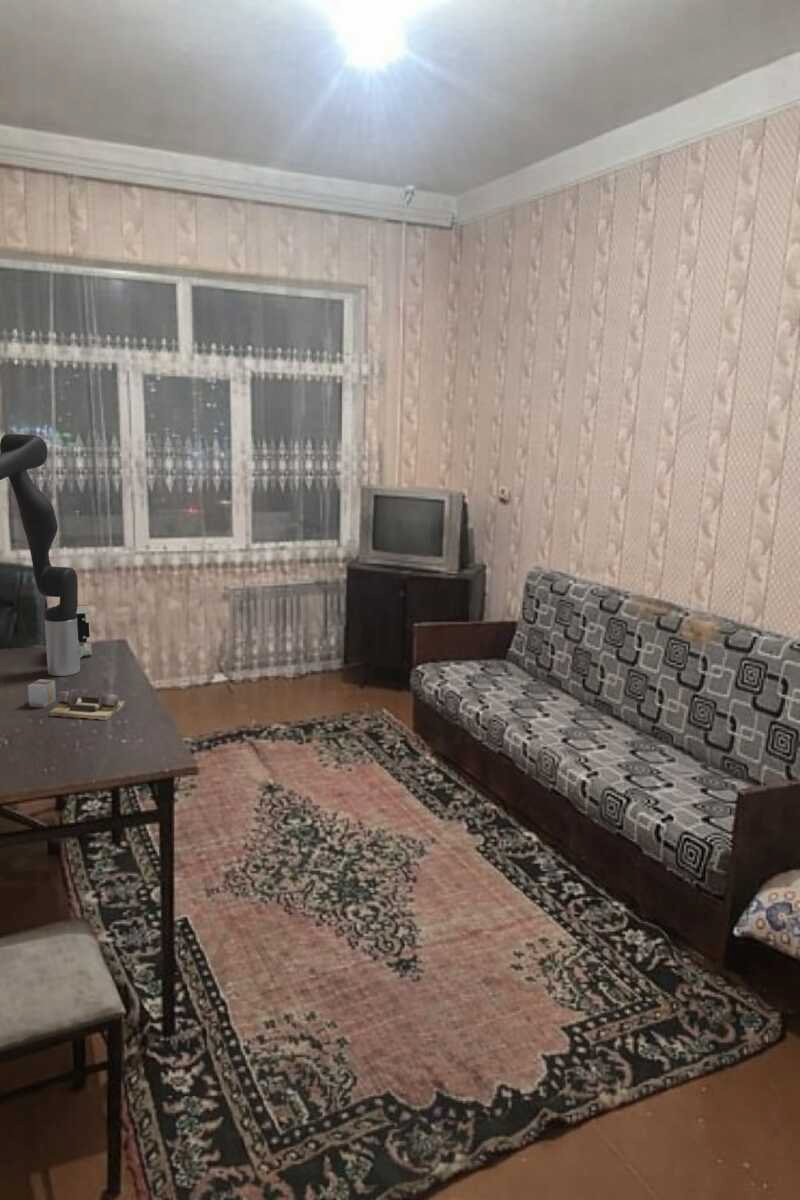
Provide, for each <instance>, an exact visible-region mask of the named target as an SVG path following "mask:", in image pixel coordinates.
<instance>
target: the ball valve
mask: <svg viewBox="0 0 800 1200" xmlns="http://www.w3.org/2000/svg"><path fill="white" fill-rule="evenodd" d="M91 613H92V612H91V608H88V607H87V604H78V608H77V629H78V640H79V652H80V659H81V658H83V657H84V656H85V657H88V656H91V655H92V653H93V652H92V650H93V649H92V643H87V642H88V638H90V637H91V636H90V635H91V629H92V626H91V624H92V623H91ZM85 657H84V658H85Z"/></svg>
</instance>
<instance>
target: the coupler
mask: <svg viewBox="0 0 800 1200" xmlns="http://www.w3.org/2000/svg"><path fill="white" fill-rule="evenodd" d="M27 695H28V707H29V706H30V707H31V708H42V707H45V708H47V707H48V706H50V705H51V703H52V702H53V703H54V701H55V700H56V701H57V694H56V680H55V679H41V678H39V679H38V680H36V681H33V682H32V683H30V684H29V685H27ZM56 701H55V702H56ZM53 703H52V704H53ZM49 704H50V705H49ZM47 705H48V706H47ZM46 706H47V707H46Z"/></svg>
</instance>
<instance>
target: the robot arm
mask: <svg viewBox="0 0 800 1200" xmlns="http://www.w3.org/2000/svg"><path fill="white" fill-rule="evenodd" d="M47 446H48V445H47V444H46V441H45V440H44V439H43V438H42V436H39V435H36V434H22V433H20V434H19V433H8V434H4V435H3V436H2V437H1V439H0V481H1V480H3V479H5V478H8V479H9V482H10V484H11V487H12V490H13V493H14V496H15V497H14V498H15V499H16V503H17V507H18V511H19V515H20V520H21V524H22V527H23V530H24V533H25V536H26V540H27V544H28V549H29V552H30V558H31V561H32V567H33V569H32V570H33V574H34V576H33V577H34V581H35V585H36V588H37V591H38V592H39V594H40V595H42V596H44V597H53V598H59V603H58V604H57V605H55V606H52V607H49V608H46V609H45V610H44V613H43V614H44V628H45V646H46V647H45V648H46V660H47V661H46V663H47V674H48V675H50V676H54V677H63V676H65V677H66V676H67V677H68V676H72V675H75V674H77V673H79V672H80V671H81V670H80V669H81V658H80V652H79V640H78V629H77V608H78V605H79V603H78V601H79V600H78V599H79V598H78V596H79V595H78V592H79V591H78V590H79V589H78V588H79V586H78V583H79V581H78V575H77V572H76V570H75V569H74V568H72V567H68V566H67V567H66V566H52V564H51V560H50V555H49V554H50V548H51V546H52V544H53V542H54V540H55V538H56V535H57V533H58V520H57V517H56V513H55V510H54V509H55V508H54V506H53V505H52V503H51V501H50V500H49V499H48V497H47V496H46V494H44V492H42V491H41V490H40V489H39V488H38V487H37V485H36V484H35V483H34V482H33V480H32V479H31V478H30V475H29V473H28V470H31V469H36V468H39V467H41V466H43V465H44V464H45V463H46V461H47V459H48V447H47Z"/></svg>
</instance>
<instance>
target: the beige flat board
mask: <svg viewBox="0 0 800 1200" xmlns="http://www.w3.org/2000/svg"><path fill="white" fill-rule="evenodd" d="M56 700H57V702H58V703H56V707H55V708H53V709H52V710H49V712H48V716H49V717H54V716H62V717H61V718H67V717H73V718H72V719H80V718H87V719H86V720H94V719H99V720H98V721H107V719H108V718H109V717H110V718H112V717H113V716H114V715H115V713H116V712H117V711H118V712H120V711H121V710H122V709H124V708H125V707H127V701H126V700H124V701H123V700H119V696H118V694H108V693H107V691H104V690H103V691H101V692H100V693H99V694H98V696H87V695H86V696H85V695H82V696H81V697H79V692H78V690H77V689H74V688H73V689H71V690H70V691H66V690H65V691H64V690H60V691H59V692H58V693H57V695H56ZM124 706H125V707H124ZM123 707H124V708H123ZM121 708H122V709H121ZM120 709H121V710H120ZM119 710H120V711H119ZM118 712H117V713H118ZM117 713H116V714H117ZM113 714H114V715H113ZM112 715H113V716H112ZM111 716H112V717H111ZM110 718H109V719H110ZM109 719H108V720H109Z"/></svg>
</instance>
